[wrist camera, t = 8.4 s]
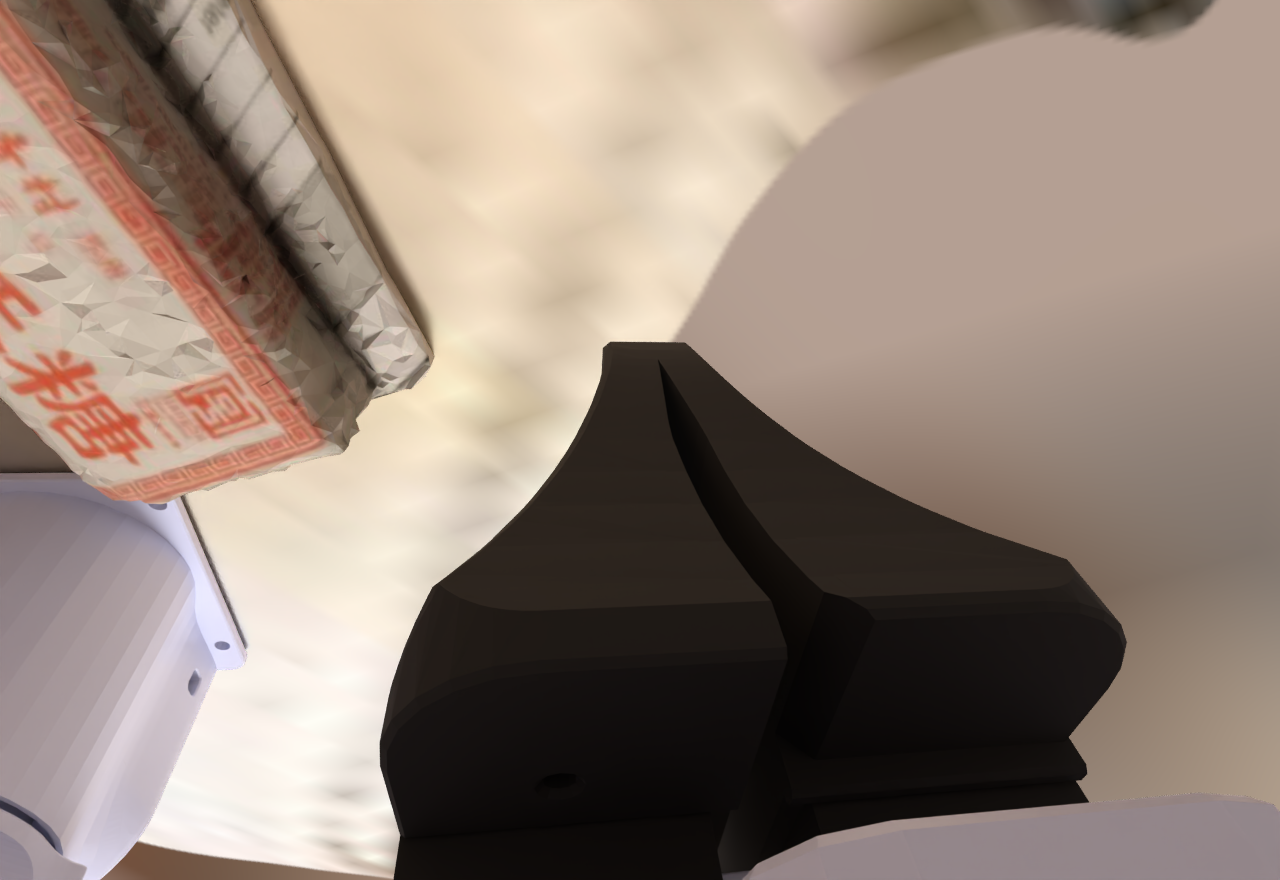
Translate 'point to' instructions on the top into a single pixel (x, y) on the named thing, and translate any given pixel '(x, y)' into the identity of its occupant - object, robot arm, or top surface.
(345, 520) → the top surface
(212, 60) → the packaged product
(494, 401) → the top surface
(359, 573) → the top surface
